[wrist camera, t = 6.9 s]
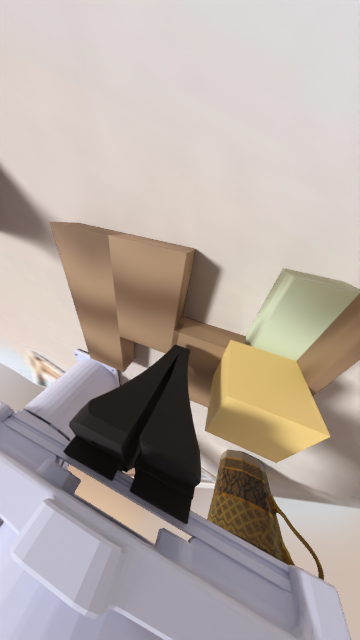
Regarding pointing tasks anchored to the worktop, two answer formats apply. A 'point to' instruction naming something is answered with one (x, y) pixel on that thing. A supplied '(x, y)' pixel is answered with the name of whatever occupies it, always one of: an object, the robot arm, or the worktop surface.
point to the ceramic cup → (250, 506)
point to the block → (263, 404)
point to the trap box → (203, 340)
